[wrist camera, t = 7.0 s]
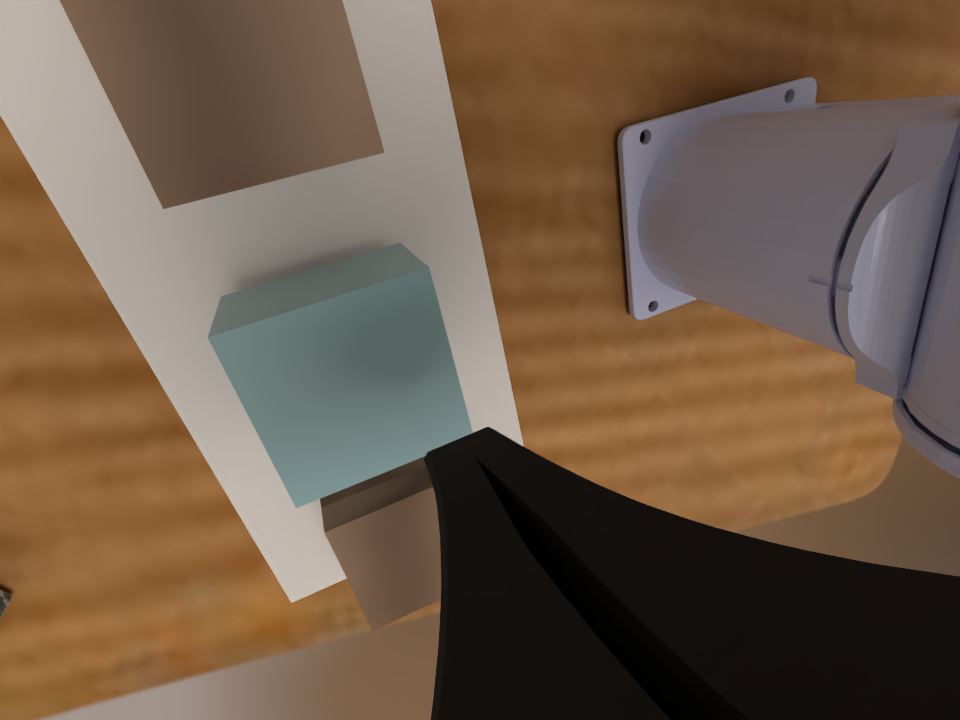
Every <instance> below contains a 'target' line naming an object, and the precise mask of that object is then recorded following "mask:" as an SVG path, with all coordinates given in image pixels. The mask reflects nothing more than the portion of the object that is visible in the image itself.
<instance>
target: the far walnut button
mask: <svg viewBox="0 0 960 720" xmlns="http://www.w3.org/2000/svg"><path fill="white" fill-rule="evenodd" d="M424 458H425V456H424V457H422V458H419V459H417V460H414V461H412V462H409V463H407V464H404V465H402V466H399V467H397V468H395V469H392V470H390V471H387V472H385V473H382V474H380V475H377V476H375V477H372V478H370V479H367V480H365V481H363V482H360V483H358V484H355V485H353V486H350V487H348V488H345V489H343V490H340V491H338V492H335V493H333V494H331V495H328V496H326V497H323V498H321V499H320V503H321V511H322V519H323V527H324V533H325V535H326V537H327V539H328V541H329V543H330V545H331V547H332V549H333V551H334V553H335V555H336V557H337V559H338V561H339V563H340V565H341V567H342V569H343V571H344V573H345V575H346V577H347V579H348V581H349V583H350V585H351V587H352V589H353V591H354V593H355V595H356V597H357V599H358V601H359V603H360V605H361V607H362V609H363V612H364V614H365V616H366V618H367V620H368V622H369V624H370V626H371V628H372V630H373V631H374V630H376V629H378V628H380V627H382V626H385V625H387V624H389V623H391V622H393V621H395V620H397V619H399V618H401V617H403V616H405V615H408V614H410V613H412V612H414V611H416V610H418V609H420V608H422V607H424V606H426V605H428V604H431V603H433V602H435V601H437V600H439V599H441V551H440V532H439V522H438V512H437V503H436V497H435V492H434V489H433V486H432V483H431V480H430V477H429V474H428V471H427V468H426V465H425V462H424Z"/></svg>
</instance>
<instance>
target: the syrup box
mask: <svg viewBox="0 0 960 720" xmlns="http://www.w3.org/2000/svg"><path fill="white" fill-rule="evenodd" d="M11 597H12V596H11V594H9V593H7V592H5V591H3V590H1V589H0V619H1V617H2V615H3V613H4V612H5V610H6V608H7V606H8V604H9V602H10V600H11Z"/></svg>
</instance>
